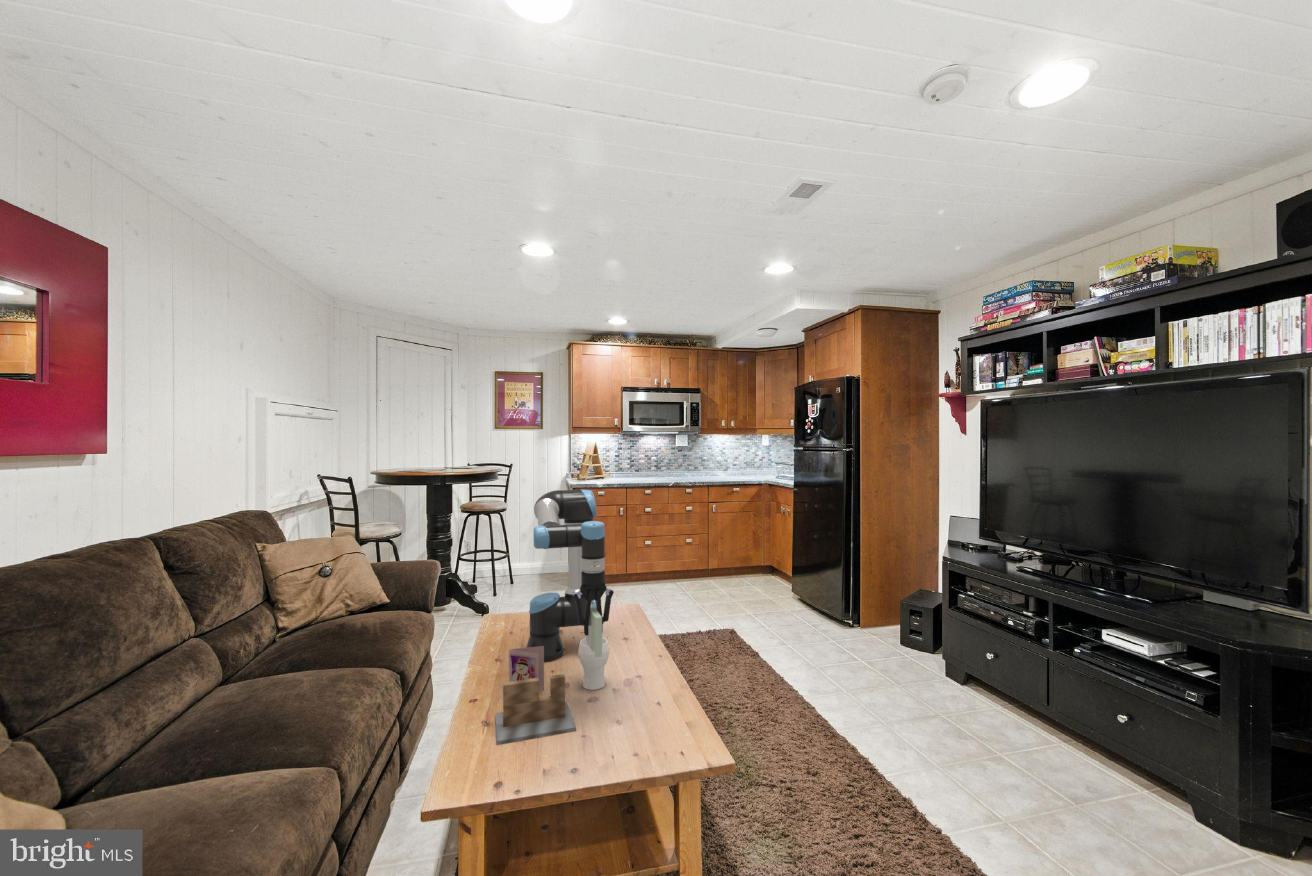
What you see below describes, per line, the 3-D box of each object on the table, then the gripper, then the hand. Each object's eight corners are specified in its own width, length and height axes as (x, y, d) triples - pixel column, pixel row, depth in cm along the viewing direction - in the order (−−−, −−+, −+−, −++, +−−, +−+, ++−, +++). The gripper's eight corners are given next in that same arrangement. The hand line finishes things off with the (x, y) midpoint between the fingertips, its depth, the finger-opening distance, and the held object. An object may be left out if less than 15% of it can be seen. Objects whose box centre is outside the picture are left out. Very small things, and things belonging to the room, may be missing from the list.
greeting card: (507, 695, 175) (507, 650, 175) (520, 686, 182) (520, 642, 182) (537, 701, 171) (537, 655, 171) (549, 691, 178) (549, 646, 178)
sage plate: (586, 640, 175) (585, 603, 175) (591, 639, 175) (591, 603, 175) (595, 657, 160) (595, 618, 160) (602, 656, 161) (602, 617, 161)
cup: (604, 693, 176) (603, 648, 176) (573, 690, 178) (573, 646, 178) (613, 679, 186) (612, 636, 187) (584, 677, 189) (584, 634, 189)
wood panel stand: (497, 744, 146) (497, 697, 146) (495, 716, 161) (495, 673, 161) (576, 730, 153) (575, 685, 153) (567, 704, 168) (567, 664, 168)
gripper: (571, 575, 163) (571, 651, 162) (619, 571, 167) (619, 645, 167) (567, 569, 170) (567, 643, 169) (613, 566, 175) (613, 637, 174)
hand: (593, 644), depth 168 cm, fingers closed on sage plate, 2 cm apart
